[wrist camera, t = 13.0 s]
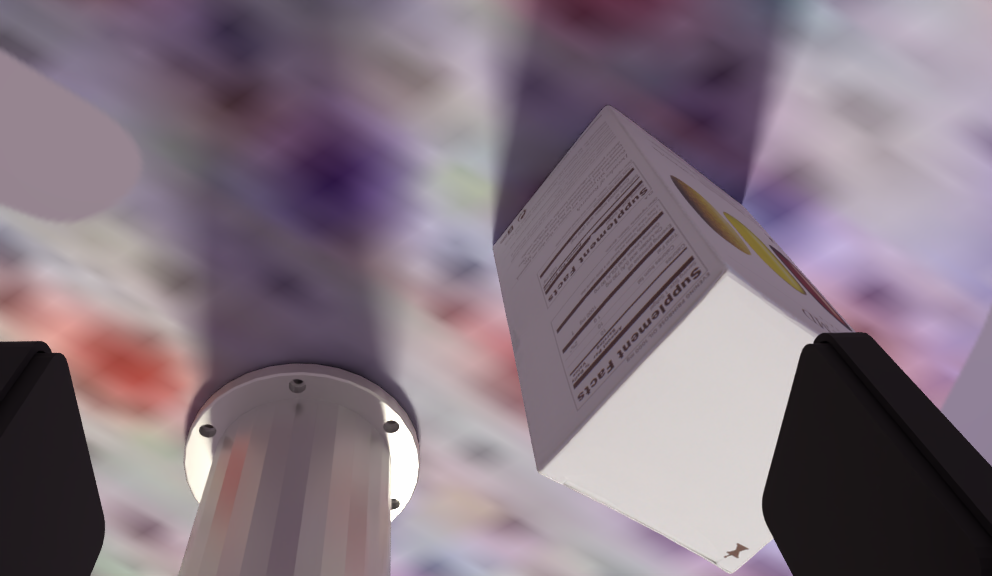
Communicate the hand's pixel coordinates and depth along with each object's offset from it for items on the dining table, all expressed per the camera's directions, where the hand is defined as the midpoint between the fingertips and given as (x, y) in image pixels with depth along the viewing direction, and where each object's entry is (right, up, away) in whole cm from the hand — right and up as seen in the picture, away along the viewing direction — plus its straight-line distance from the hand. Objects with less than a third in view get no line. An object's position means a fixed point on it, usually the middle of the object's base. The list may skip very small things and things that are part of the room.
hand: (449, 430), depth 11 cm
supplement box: (+7, +5, +31) cm, 32 cm away
